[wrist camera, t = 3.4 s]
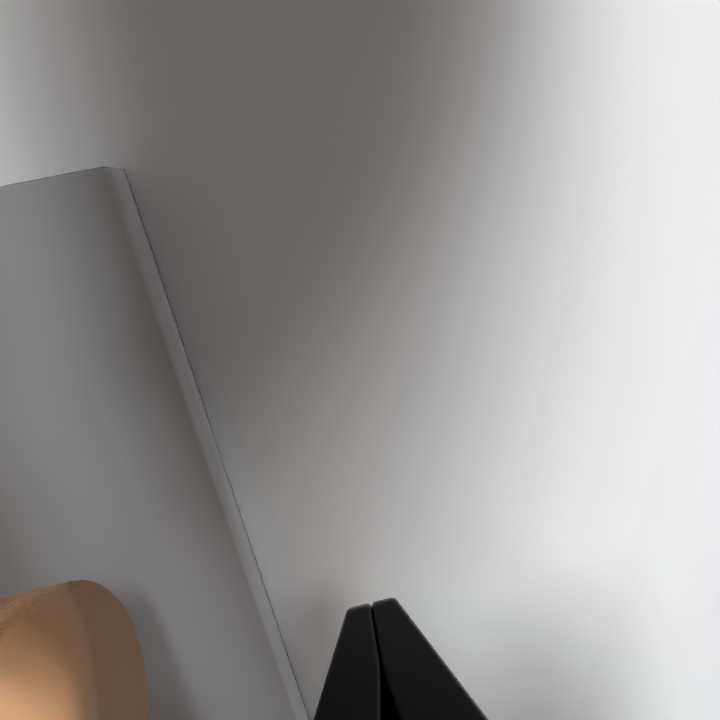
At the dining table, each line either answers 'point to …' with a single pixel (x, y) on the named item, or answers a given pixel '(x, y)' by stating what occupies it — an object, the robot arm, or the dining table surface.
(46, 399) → the wooden block on base
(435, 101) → the dining table surface
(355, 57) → the dining table surface
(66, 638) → the shaft
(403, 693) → the robot arm
